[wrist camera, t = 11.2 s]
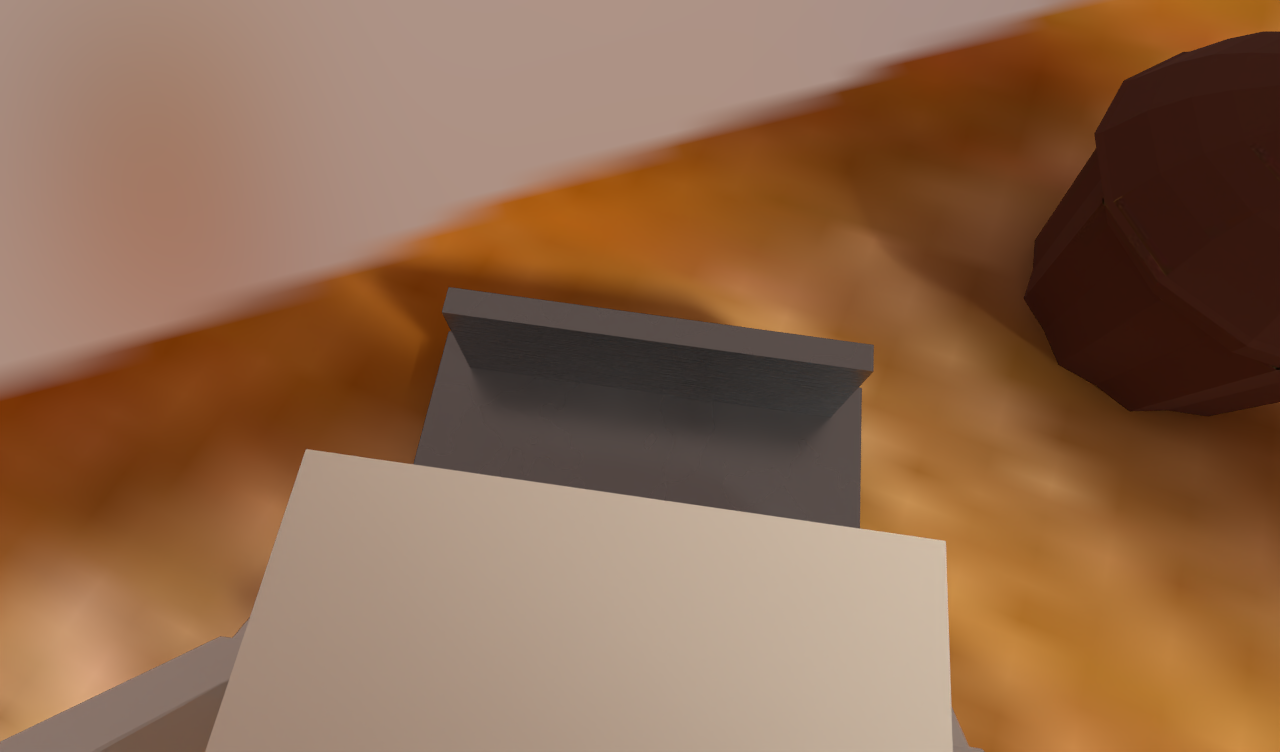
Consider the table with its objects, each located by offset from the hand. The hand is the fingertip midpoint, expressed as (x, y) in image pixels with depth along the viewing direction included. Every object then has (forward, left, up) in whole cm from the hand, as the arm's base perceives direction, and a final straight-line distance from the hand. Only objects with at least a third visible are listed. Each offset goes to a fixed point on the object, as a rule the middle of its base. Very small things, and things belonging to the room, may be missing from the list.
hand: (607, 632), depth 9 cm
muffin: (-22, +7, -13) cm, 26 cm away
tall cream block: (+1, 0, -5) cm, 5 cm away
